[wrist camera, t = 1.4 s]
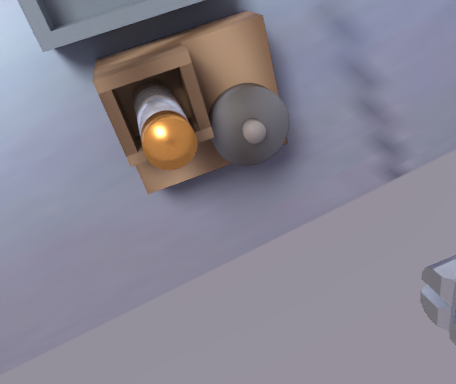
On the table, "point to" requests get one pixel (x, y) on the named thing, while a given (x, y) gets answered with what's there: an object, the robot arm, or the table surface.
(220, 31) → the wooden holder block
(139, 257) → the table surface
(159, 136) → the lock pin
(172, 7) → the tray
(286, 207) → the table surface
